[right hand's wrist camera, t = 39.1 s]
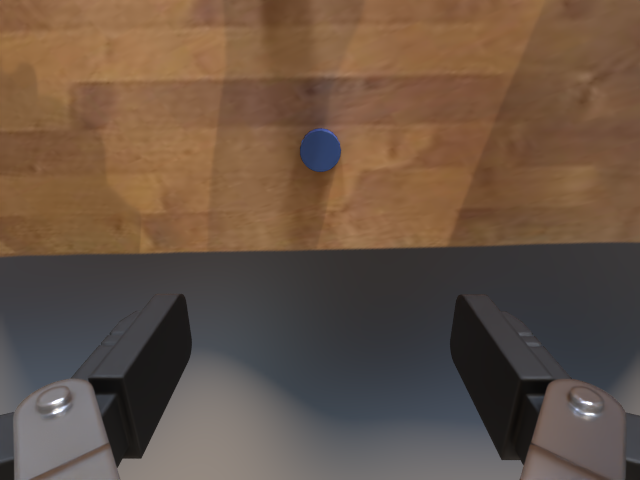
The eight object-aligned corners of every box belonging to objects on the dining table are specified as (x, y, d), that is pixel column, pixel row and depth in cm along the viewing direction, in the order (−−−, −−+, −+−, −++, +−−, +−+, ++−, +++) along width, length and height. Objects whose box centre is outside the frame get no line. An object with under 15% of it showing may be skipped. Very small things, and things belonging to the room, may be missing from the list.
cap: (294, 158, 45) (293, 162, 43) (310, 121, 44) (309, 123, 41) (329, 174, 46) (330, 178, 43) (346, 138, 44) (348, 140, 42)
